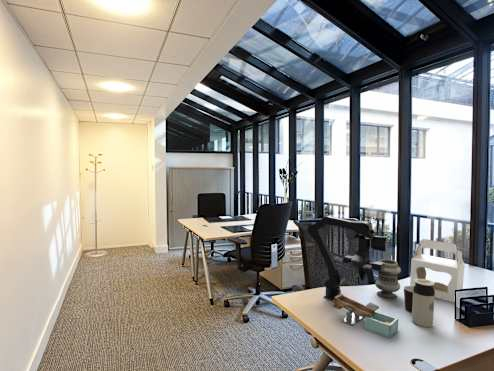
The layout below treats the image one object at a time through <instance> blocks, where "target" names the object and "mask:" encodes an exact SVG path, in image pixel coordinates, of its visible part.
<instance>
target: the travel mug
mask: <svg viewBox="0 0 494 371" xmlns="http://www.w3.org/2000/svg"><path fill="white" fill-rule="evenodd" d="M414 281H415V286H414V287H413V304H412V313H411V322H412V323H413V324H414V325H417V326H419V327H424V328H429V327H430V328H431V327H433V325H434V312H435V297H434V296H435V290H434V288H433V286H434V281H431V280H428V279H415V280H414Z"/></svg>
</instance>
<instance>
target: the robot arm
mask: <svg viewBox="0 0 494 371" xmlns="http://www.w3.org/2000/svg"><path fill="white" fill-rule="evenodd" d="M328 225H330V226H333V227H339V228H343V229H347V230H350V231H352V232H354V233H356V234H355V235H354V236H353V239H357V245H356V246H357V247H356V250H355V254H354V255H349V254H348V255H345V256H343V257H342V260H341V263H343V264H350V263H351V266H352V267H353V268H355V269H356V271H357V272H358V275H359V278H360V281H361V282H364V281H365V278H366V277H367V275H368V273H369V271H370V270H371V269H372V270H373V271H375V272H378V271H382V270H384V269H385V264H384V263H381V262H380V261H375V262H371V261H372V260H371V256H370V255H371V252H372V250H373V251H378V252H385V253H387V252H388V250H389V241H388V236H382V235H380V236H379V235H377V234H376V232H375V231H374V229H373V225H372V224H371V222H369V221H366V220H356V221H355V220H349V219H344V218H340V217H333V216H332V215H331V216H330V215H326V216H324V217H322V218H321V219H319V220H318V221H316V222H314V223H310V224H308V226H307V228H306V231H307V233H308V234H309V236H310V238H311V239H312V240H313V241H314V242H315V243H316V247H317V248H318V249H319V252H320V255H321V257H322V259H323V262H324V263H325V266H326V268H327V276H328V280H326V281H325V282H324V287H325V295H324V296H323V298H325V299H327V300H330V301H332V302H334V297H335V296H337V295H339V294H342V290H341V286H340V285H341V284H342V283H344V282H345V280H346V276H345V275H346V273H345V272H344V269H343V267H342V266H340V267H339V266H338V264H337V263H336V261H335V259H334V256H333V255H332V252H331V251H330V248H329V246H328V244H327V241H326V240H325V239H326V238H325V231H324V228H326V227H327V226H328ZM371 249H372V250H371Z"/></svg>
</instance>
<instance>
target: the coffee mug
mask: <svg viewBox="0 0 494 371" xmlns="http://www.w3.org/2000/svg"><path fill="white" fill-rule="evenodd" d="M413 287H414V286H410V285H406V286H403V294H404V295H403V297H404V308H405V311H406V312H408V313H411V314H412V304H413Z"/></svg>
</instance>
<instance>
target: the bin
mask: <svg viewBox="0 0 494 371" xmlns="http://www.w3.org/2000/svg"><path fill="white" fill-rule="evenodd" d="M384 322H389V323H390V324H387V323H384ZM364 330H366V331H369V332H372V333H375V334H377V335H379V336H382V337H385V338H388V339H391V338H392V337H393V336H394V335H396V333H397V332H398V330H399V318H397V317H394V316H391V315H388V314H386V313H382V312H379V311H377V310H376V311H375V315H374V316H373V317H372V318H369V317H365V318H364Z"/></svg>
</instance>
